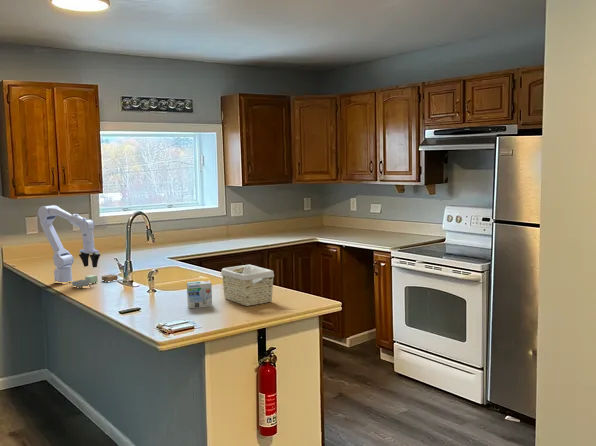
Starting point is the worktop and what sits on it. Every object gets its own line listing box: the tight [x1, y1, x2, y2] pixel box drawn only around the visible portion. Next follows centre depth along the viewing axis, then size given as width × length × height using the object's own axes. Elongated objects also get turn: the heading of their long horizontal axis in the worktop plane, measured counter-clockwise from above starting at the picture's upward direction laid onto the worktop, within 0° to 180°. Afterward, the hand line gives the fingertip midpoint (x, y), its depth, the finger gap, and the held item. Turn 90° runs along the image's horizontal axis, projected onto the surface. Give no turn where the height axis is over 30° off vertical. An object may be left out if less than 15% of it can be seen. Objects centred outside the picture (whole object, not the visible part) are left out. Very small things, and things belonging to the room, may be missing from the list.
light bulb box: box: [186, 279, 213, 309], centre depth 262 cm, size 11×7×11 cm, turn 106°
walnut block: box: [101, 274, 119, 281], centre depth 325 cm, size 6×6×4 cm
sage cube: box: [84, 274, 99, 283], centre depth 320 cm, size 4×4×4 cm
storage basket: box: [221, 264, 275, 307], centre depth 270 cm, size 24×16×15 cm
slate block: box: [71, 279, 90, 287], centre depth 311 cm, size 6×6×4 cm
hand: (90, 266), depth 319 cm, fingers open, 7 cm apart
